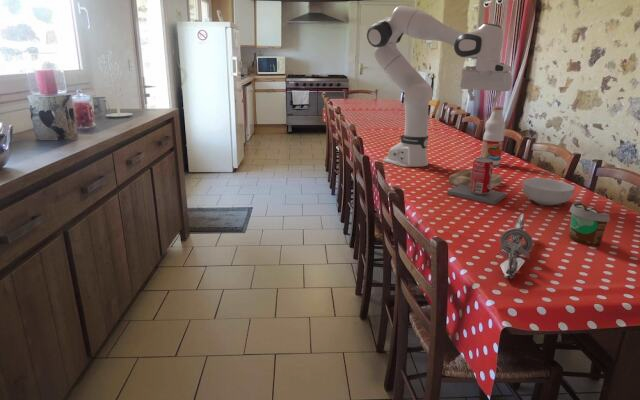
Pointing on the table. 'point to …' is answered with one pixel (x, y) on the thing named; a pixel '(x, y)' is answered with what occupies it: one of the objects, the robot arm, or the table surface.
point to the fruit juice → (494, 136)
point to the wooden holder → (465, 178)
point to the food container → (587, 224)
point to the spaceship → (515, 247)
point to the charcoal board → (466, 193)
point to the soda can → (481, 176)
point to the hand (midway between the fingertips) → (483, 101)
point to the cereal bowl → (547, 191)
